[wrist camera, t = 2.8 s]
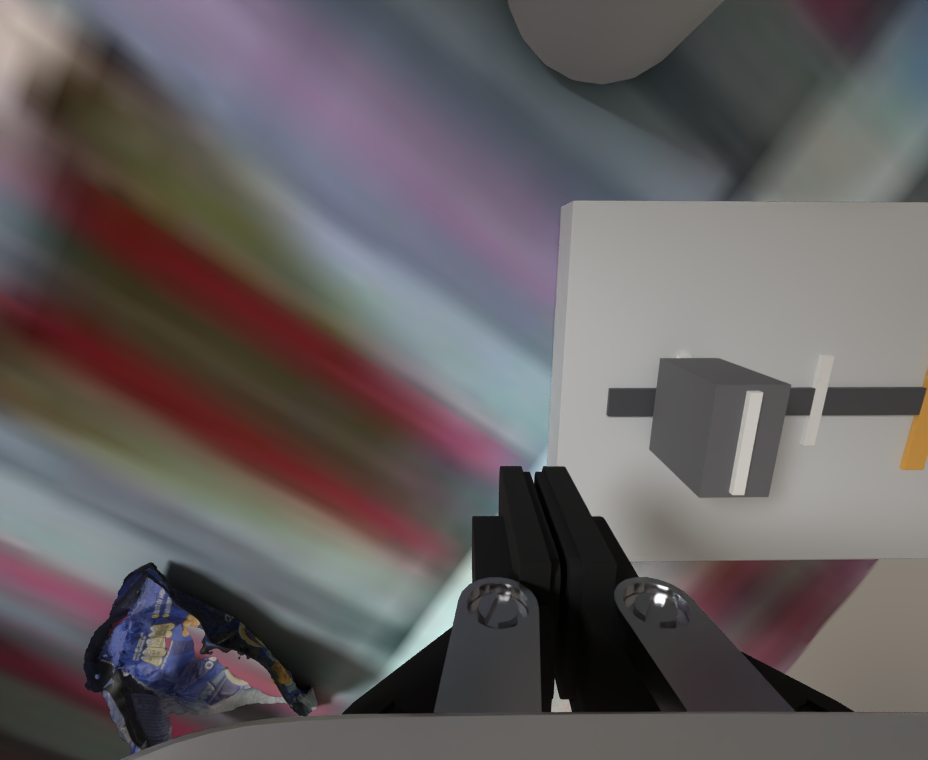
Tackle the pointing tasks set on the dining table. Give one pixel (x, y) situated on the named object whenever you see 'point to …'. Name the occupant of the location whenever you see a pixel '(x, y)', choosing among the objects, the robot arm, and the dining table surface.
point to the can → (606, 33)
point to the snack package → (174, 661)
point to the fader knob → (718, 426)
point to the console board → (756, 348)
